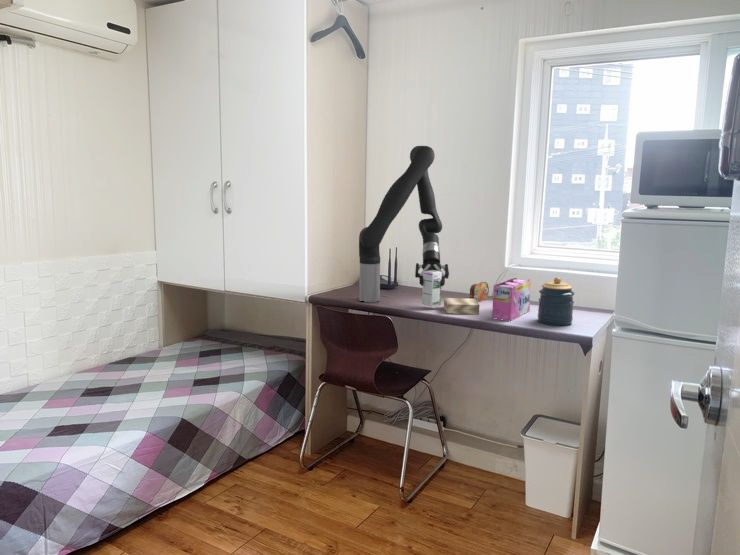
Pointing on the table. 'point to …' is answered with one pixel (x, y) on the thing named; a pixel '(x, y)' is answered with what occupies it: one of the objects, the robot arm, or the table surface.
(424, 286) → the syrup box
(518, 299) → the gum box
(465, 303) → the birch plinth
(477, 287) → the tin
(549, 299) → the canister
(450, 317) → the table surface
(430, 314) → the table surface
